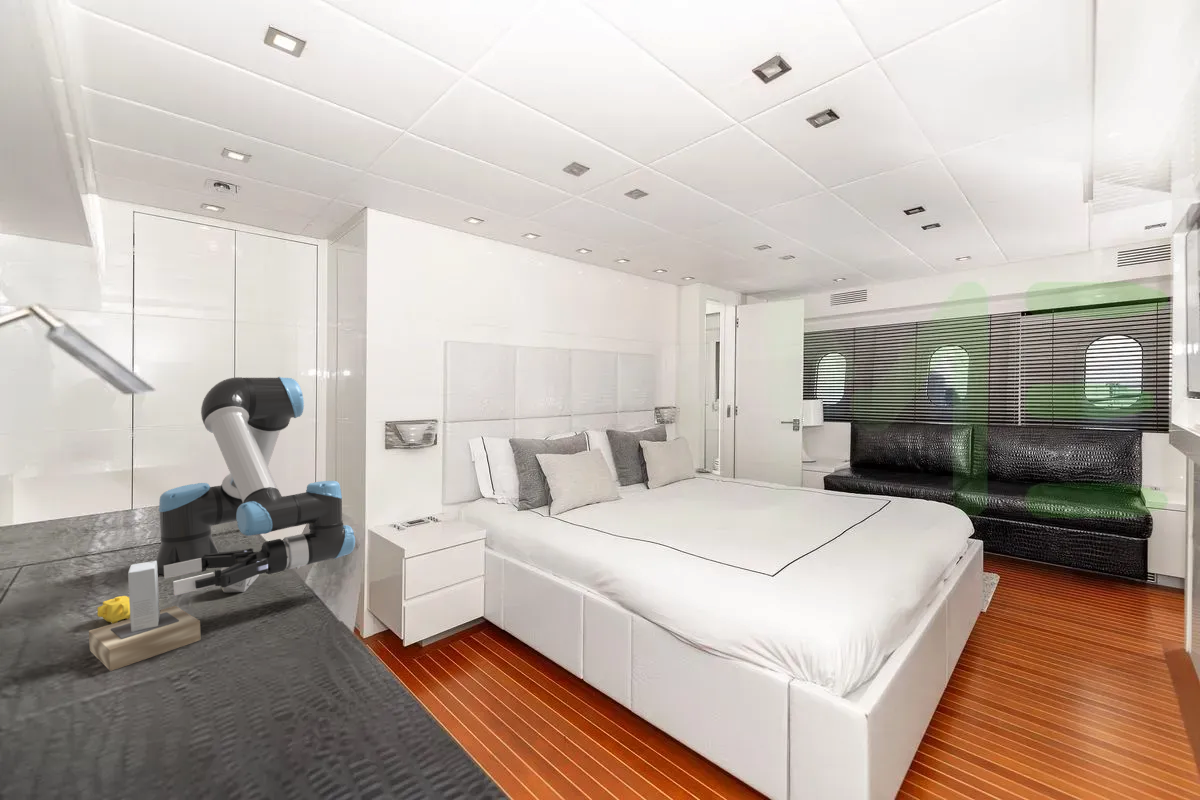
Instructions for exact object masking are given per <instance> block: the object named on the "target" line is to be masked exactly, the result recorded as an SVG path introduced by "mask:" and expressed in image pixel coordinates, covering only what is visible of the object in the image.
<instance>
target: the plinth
mask: <svg viewBox="0 0 1200 800" xmlns="http://www.w3.org/2000/svg"><path fill="white" fill-rule="evenodd" d="M201 636H202V635H201V621H200V619H198V618H196V617H194V616H193V615H192V614H190V613H188V612H186V611H184V610H183V609H181V608H180V607H178V606H176V605H172V606H169V607H165V608H162V609H160V617H159V623H158V626H156V627H152V628H147V629H143V630H139V631H135V632H131V620H130V619H125V620H124V619H123V620H120V621H118V622H117V623H114V624H111V623H110V624H107V625H104V626H100V627H97V628H93V629H90V630H88V643H89V651H90V652H91V654H92V655H94V656H95V658H97V659H98V660H99V661H100V662H101V664H103V665H104V666H105V668H107V669H108V671H110V672H112V671H115V670H118V669H121V668H123V667H127V666H129V665H132V664H135V663H138V662H142V661H144V660H146V659H149V658H152V657H156V656H159V655H162V654H164V653H167V652H170V651H173V650H176V649H178V648H182V647H184V646H187V645H190V644H193V643H196V642H198V641H201V640H202V638H201Z"/></svg>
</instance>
